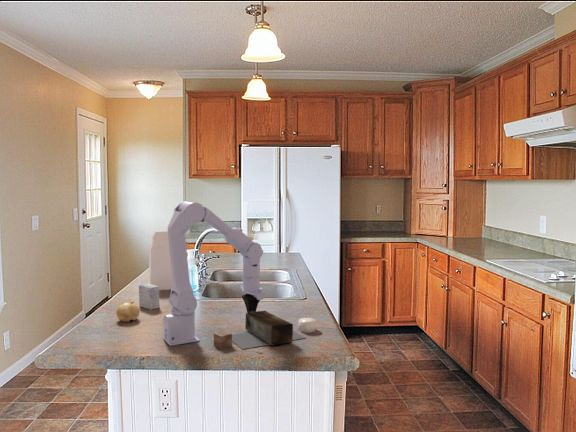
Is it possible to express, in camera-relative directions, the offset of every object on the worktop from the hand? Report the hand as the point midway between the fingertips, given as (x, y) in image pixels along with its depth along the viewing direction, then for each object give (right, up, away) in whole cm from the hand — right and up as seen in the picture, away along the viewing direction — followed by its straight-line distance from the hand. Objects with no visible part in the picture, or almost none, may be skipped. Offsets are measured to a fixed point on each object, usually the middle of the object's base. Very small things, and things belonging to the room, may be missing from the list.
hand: (251, 315), depth 173 cm
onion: (-45, -4, +9) cm, 46 cm away
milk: (-45, +1, +61) cm, 76 cm away
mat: (+5, -5, -9) cm, 11 cm away
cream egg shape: (+19, -5, -1) cm, 20 cm away
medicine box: (-42, -2, +27) cm, 50 cm away
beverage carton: (+6, -5, -8) cm, 11 cm away
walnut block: (-8, -6, -17) cm, 19 cm away
